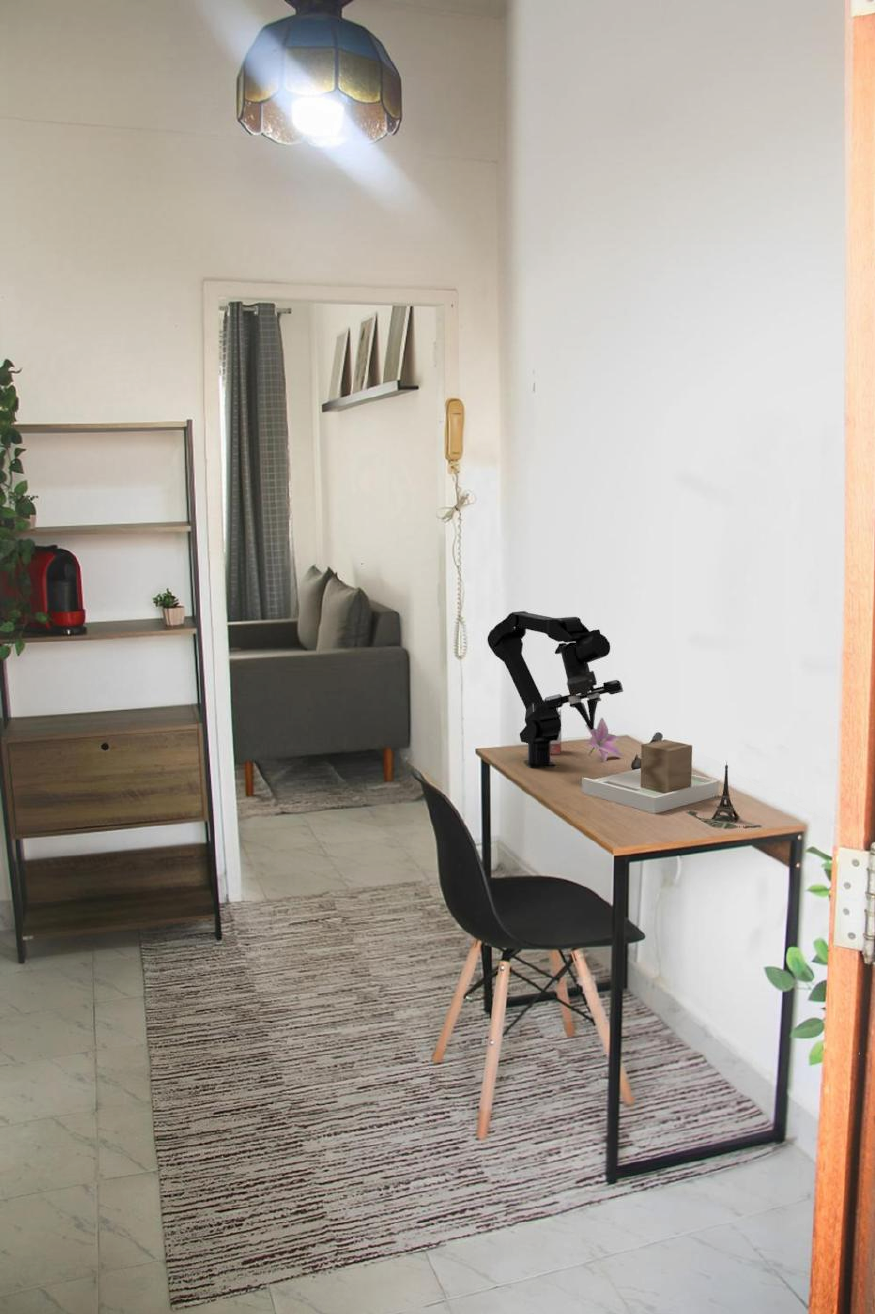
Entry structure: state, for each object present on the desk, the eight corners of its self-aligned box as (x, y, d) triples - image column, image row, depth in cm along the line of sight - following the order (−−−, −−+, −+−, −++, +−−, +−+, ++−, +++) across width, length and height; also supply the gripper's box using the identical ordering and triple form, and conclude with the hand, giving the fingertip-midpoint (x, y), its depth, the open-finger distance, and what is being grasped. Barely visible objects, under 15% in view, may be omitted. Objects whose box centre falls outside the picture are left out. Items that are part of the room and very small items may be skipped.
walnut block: (640, 787, 252) (641, 744, 250) (663, 781, 257) (664, 739, 255) (668, 794, 245) (669, 750, 244) (691, 788, 250) (692, 745, 249)
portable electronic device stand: (635, 762, 285) (636, 730, 284) (666, 764, 283) (667, 732, 282) (631, 770, 277) (631, 738, 276) (662, 772, 275) (663, 739, 273)
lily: (578, 767, 285) (595, 738, 281) (566, 740, 295) (582, 712, 291) (618, 776, 289) (635, 748, 285) (604, 750, 299) (620, 722, 295)
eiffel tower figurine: (683, 813, 241) (684, 754, 239) (724, 809, 244) (725, 750, 242) (720, 833, 227) (722, 770, 225) (763, 828, 230) (765, 766, 228)
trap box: (582, 792, 257) (582, 778, 256) (645, 777, 270) (645, 763, 270) (655, 813, 240) (655, 798, 239) (718, 795, 253) (718, 780, 253)
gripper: (534, 673, 263) (549, 737, 260) (610, 654, 259) (627, 719, 256) (541, 677, 274) (556, 738, 271) (615, 658, 269) (631, 720, 267)
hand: (592, 729), depth 266 cm, fingers closed
